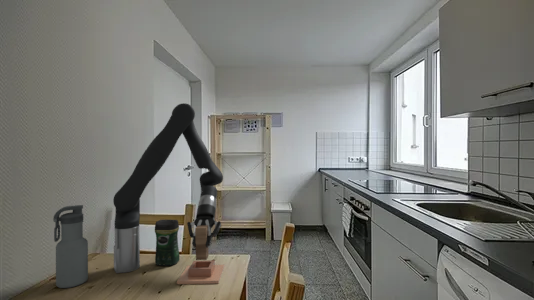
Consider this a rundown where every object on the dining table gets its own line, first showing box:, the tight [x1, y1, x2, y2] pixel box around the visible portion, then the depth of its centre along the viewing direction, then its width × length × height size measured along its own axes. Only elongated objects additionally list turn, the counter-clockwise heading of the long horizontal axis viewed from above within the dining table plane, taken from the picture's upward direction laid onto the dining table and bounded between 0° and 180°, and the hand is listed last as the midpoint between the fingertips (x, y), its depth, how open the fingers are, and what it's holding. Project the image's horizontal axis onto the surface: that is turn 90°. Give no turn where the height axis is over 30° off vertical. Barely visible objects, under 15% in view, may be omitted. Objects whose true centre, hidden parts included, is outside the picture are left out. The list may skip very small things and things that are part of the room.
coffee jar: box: [154, 219, 180, 266], centre depth 123 cm, size 10×8×19 cm
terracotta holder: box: [176, 259, 225, 285], centre depth 110 cm, size 15×15×4 cm
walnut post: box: [194, 225, 210, 261], centre depth 111 cm, size 4×4×12 cm
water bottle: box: [52, 204, 89, 289], centre depth 105 cm, size 10×10×28 cm
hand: (201, 246), depth 109 cm, fingers closed on walnut post, 4 cm apart
